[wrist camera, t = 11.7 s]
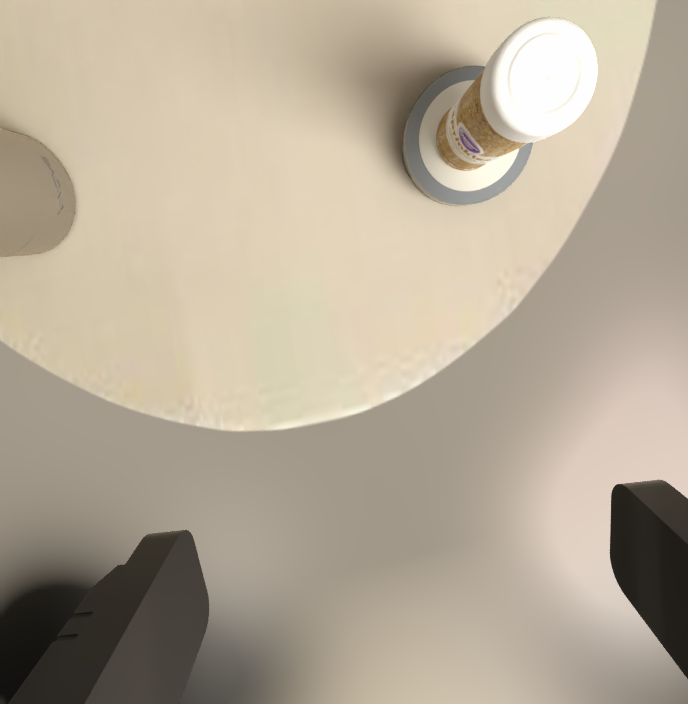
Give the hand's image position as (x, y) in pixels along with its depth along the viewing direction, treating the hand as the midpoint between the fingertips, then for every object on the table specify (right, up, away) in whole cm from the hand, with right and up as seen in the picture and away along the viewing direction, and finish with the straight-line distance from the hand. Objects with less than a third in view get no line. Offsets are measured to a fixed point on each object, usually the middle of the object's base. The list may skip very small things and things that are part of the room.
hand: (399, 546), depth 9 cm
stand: (+8, +20, +26) cm, 33 cm away
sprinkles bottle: (+8, +19, +23) cm, 31 cm away
